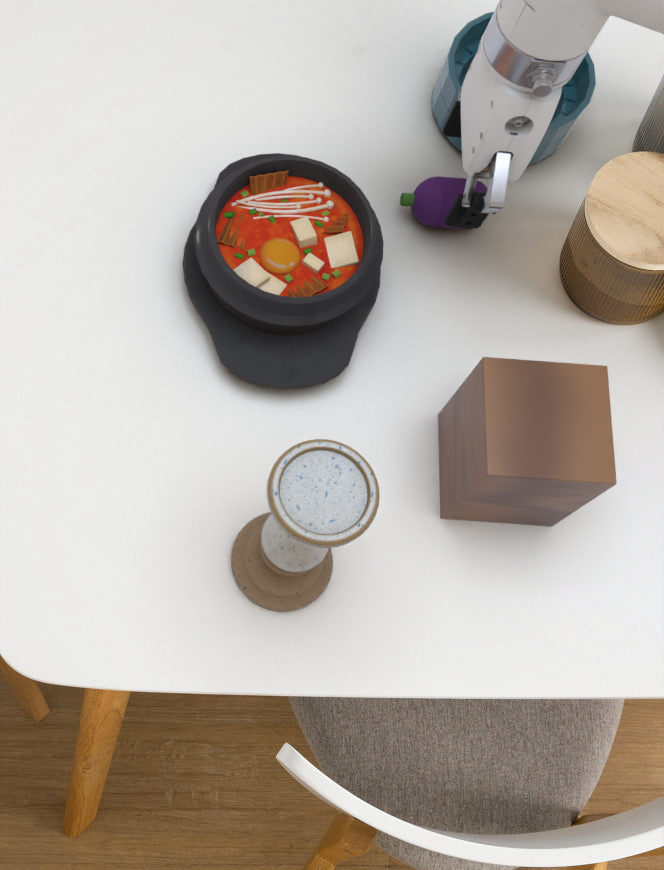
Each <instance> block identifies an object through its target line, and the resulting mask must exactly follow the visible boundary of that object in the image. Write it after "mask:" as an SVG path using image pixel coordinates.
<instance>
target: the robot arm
mask: <svg viewBox="0 0 664 870" xmlns="http://www.w3.org/2000/svg"><path fill="white" fill-rule="evenodd" d="M493 12H494V13H493V15H492V17H491V19H490V22H489V24H488V26H487V28H486V30H485V32H484V34H483V36H482V37H481V40H480V44H479V47H478V50H477V53H476V55H475V57H474V59H473V61H472V63H471V64H470V65H469V69H468V72H467V74H466V77H465V79H464V82H463V85H462V86H461V88H460V90H459V97H458V98H459V100H461V102H460V101H456V102H455V104H454V106H453V108H452V110H451V112H450V114H449V116H448V118H447V121H446V123H445V125H444V127H443V132H442V135H443V136H445V137H446V136H448V137H460V138H461V139H462V151H461V160H462V170H463V172H464V173H465V175H466V176H467V177H466V179H467V181H466V185H465V189H464V194H460V195H458V197H457V198H456V200H455V202H454V204H453V206H452V207H451V209H450V211H449V213H448V215H447V216H446V218H445V225H446V226H452V227H459V228H461V229H460V230H472V229H479V228H481V226H482V225H483V223H484V222H485V221H486V219H487V218H488V216H489V215H490V214H492V215H496V214H497V213H499V212H501V211H503V210H504V208H505V205H506V198H507V190H508V183H514V182H517V181H518V180H519V179H520V178H521V177H522V176H523V174H524V172H525V171H526V169H527V167H528V165H530V164H529V162H530V160H531V159H532V157H533V155H534V153H535V151H536V150H537V148H538V146H539V144H540V142H541V140H542V138H543V136H544V134H545V132H546V130H547V128H548V126H549V124H550V122H551V120H552V117H553V115H554V112H555V110H556V107H557V105H558V102H559V99H560V96H561V93H562V86H563V85H565V84H566V83H567V82H568V81H569V80H570V79H571V77H572V76H573V74H574V73H575V71H576V70H577V68H578V66H579V65H580V63H581V62H582V60H583V58H584V57H585V55H586V54H587V52H589V51H590V49H591V48H592V46H593V44H594V42H595V41H596V39H597V37H598V36H599V34H600V33H601V31H602V29H603V28H604V26H605V25H606V23H607V21H608V20H609V18H610V17H611V16H612V17H615V18H618V19H621V20H623V21H626V22H629V23H632V24H634V25H637V26H640V27H642V28H645V29H649V30H650V31H653V32H656V33H659V34H662V35H664V0H499V1H498V3H497V5H496V7H495V9H494V11H493ZM490 161H491V164H489V163H490ZM489 165H490V168H487V167H488V166H489ZM478 179H486V180H488V181H487V188H488V189H487V193H481V192H474V190H475V186H476V182H477V180H478ZM488 214H489V215H488ZM487 215H488V216H487ZM486 217H487V218H486ZM485 218H486V219H485Z"/></svg>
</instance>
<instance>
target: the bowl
mask: <svg viewBox="0 0 664 870" xmlns="http://www.w3.org/2000/svg"><path fill="white" fill-rule="evenodd" d="M493 13H494V11H490V12H485V13H484V14H482V15H480V16H478V17H476V18H474V19H472V20H470V21H469V22H467V23H466V24H465V25H464V26H463V27H462V28H461V29H460V31H459V32H457V34H456V35H455V36H454V38H453V40H452V43H451V45H450V47H449V50H448V52H447V55H446V57H445V58H444V59H445V60H444V62H443V63H442V67H441V68H440V71H439V74H438V76H437V79H436V81H435V84H434V85H433V86H434V87H433V89H432V91H431V92H432V93H431V94H432V96H431V97H432V99H431V101H432V113H433V115H434V118H435V121H436V122H437V126H438V128H439V130H440V131H441V132H442V133H443V127H444V125H445V123H446V121H447V118H448V116H449V114H450V112H451V110H452V108H453V106H454V104H455V102H456V101H460V102H461V100H459V98H458V97H459V90H460V88H461V86H462V85H463V82H464V79H465V77H466V74H467V72H468V69H469V65H470V64H471V63H472V61H473V59H474V57H475V55H476V53H477V50H478V47H479V44H480V40H481V37H482V36H483V34H484V32H485V30H486V28H487V26H488V24H489V22H490V19H491V17H492V15H493ZM595 68H596V67H595V63H594V62H593V59H592V57H591V55H590V53H589V51H588V52H587V54H586V55H585V57H584V58H583V60H582V62H581V63H580V65H579V66H578V68H577V70H576V71H575V73H574V74H573V76H572V77H571V79H570V80H569V81H568V82H567V83H566V84H565V85H563V86H562V93H561V96H560V99H559V102H558V105H557V107H556V110H555V112H554V115H553V117H552V120H551V122H550V124H549V126H548V128H547V130H546V132H545V134H544V136H543V138H542V140H541V142H540V144H539V146H538V148H537V150H536V151H535V153H534V155H533V157H532V159H531V160H530V162H529V164H528V165H532V164H537V163H539V162H540V161H542V160H544V159H546V158H548V157H550V156H551V155H553V154H554V153H556V152H557V151H558V149H559V148H560V147H561V146H562V145H563V143H564V142H565V141H566V140H567V138H568V137H569V136H570V134H571V132H572V131H573V129H574V128H575V126H576V125H577V123H578V121H579V120H580V119H581V117H582V116H583V114H584V113H585V111H586V109H587V108H588V106H589V105H590V103H591V101H592V98H593V94H594V91H595V88H596V85H597V82H596V81H597V80H596V69H595ZM445 137H446V139H448V141H449V142H450V143H451V144H452V146H453V147H454V148H456V149H458V150H459V151H461V152H462V139H461V138H460V137H448V136H445ZM489 165H491V161H490V163H489Z"/></svg>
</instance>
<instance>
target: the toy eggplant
mask: <svg viewBox="0 0 664 870" xmlns="http://www.w3.org/2000/svg"><path fill="white" fill-rule="evenodd" d="M466 181H467V178H464V177H450V176H449V177H448V176H431V177H428V178H426V179H424V180H422V181H421V182H420V183H419V184H418V185H417V186H416V187H415V189H414V191H413V192H412V193H410V192H402V193H401V194H400V197H399V206H400V207H410V209H411V212H412V214H413V216H414V218H415V219H416V220H417V222H419V223H420V224H422V225H424V226H426V227H430V228H431V227H432V228H444V229H458V230H462V229H461V228H459V227H452V226H446V225H445V218H446V216H447V215H448V213H449V211H450V209H451V207H452V206H453V204H454V202H455V200H456V198H457V197H458V195H460V194H464V189H465V185H466ZM487 189H488V186H487V185H486V184H485V183H483V182H481V180H478V179H477V182H476V186H475V190H474V192H481V193H487ZM489 215H490V213H489V214H488V215H487V217H486V218H485V220H486V219H487V218H488V217H489Z"/></svg>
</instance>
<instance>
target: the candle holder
mask: <svg viewBox="0 0 664 870" xmlns="http://www.w3.org/2000/svg"><path fill="white" fill-rule="evenodd" d="M380 498H381V497H380V486H379V482H378V479H377V476H376V474H375V471H374V469H373V468H372V466H371V464H370V463H369V462H368V461H367V460H366V458H365V457H364V456H363V455H361V454H360V453H359V452H358V451H357V450H356V449H355V448H352V447H351V446H349V445H348V444H345V443H343V442H340V441H338V440H337V441H336V440H332V439H326V438H324V439H323V438H315V439H309V440H305V441H301V442H299V443H297V444H295V445H292V446H291V447H290V448H288V449H287V450H285V451H284V452H283V453H282V454H281V455H280V456H279V457H278V458H277V460H276V461H275V462H274V463H273V465H272V468H271V470H270V471H269V475H268V477H267V483H266V500H267V505H268V509H269V511H268V512H265V513H263V514H260V515H258V516H256V517H254V518H253V519H251V520H249V521H248V522H247V523H246V524H245V525H244V526H243V527H242V528H241V530H240V531H239V532H238V534H237V536H236V537H235V540H234V542H233V545H232V549H231V553H230V565H231V573H232V575H233V578H234V581H235V582H236V584H237V586H238V588H239V590H240V591H241V592H242V593H243V595H245V597H247V598H248V599H249V600H250V601H252V602H253V603H254V604H256V605H258V606H260V607H262V608H264V609H266V610H269V611H276V612H293V611H297V610H300V609H302V608H305V607H307V606H309V605H311V604H312V603H313V602H315V601H316V600H317V599H318V598H320V596H321V595H322V594H323V593H324V592H325V590H326V589H327V587H328V585H329V582H330V581H331V577H332V574H333V569H334V557H333V551H332V549H333V548H339V547H341V546H345V545H348V544H350V543H351V542H354V541H356V540H357V539H358V538H360V537H361V536H362V535H363V534H364V533H366V531H367V530H368V529H369V528H370V527H371V525H372V523H373V522H374V520H375V518H376V516H377V513H378V509H379V505H380Z"/></svg>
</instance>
